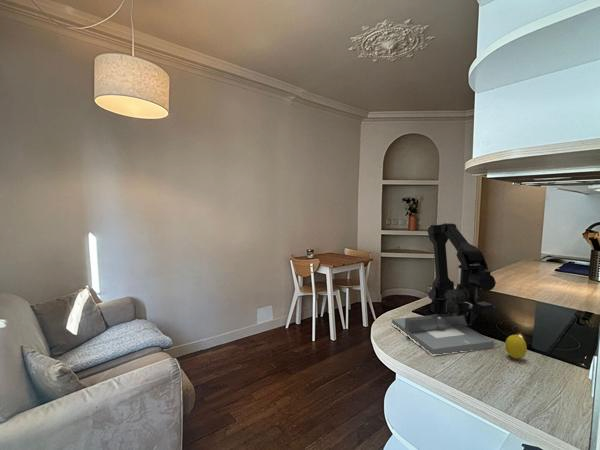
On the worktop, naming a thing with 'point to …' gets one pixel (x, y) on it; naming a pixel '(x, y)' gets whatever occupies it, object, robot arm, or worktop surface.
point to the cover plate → (447, 338)
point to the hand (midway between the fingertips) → (466, 323)
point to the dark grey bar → (436, 321)
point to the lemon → (516, 346)
